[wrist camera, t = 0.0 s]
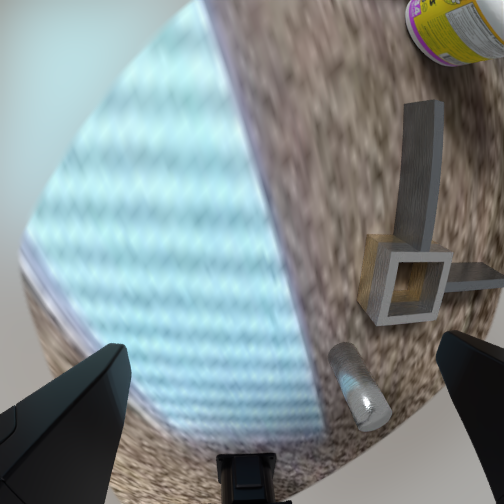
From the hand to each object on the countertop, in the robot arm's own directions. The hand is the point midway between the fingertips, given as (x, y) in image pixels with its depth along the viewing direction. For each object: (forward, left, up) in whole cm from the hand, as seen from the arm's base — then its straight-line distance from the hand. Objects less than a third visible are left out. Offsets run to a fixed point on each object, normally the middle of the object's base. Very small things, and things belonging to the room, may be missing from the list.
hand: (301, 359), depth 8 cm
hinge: (+2, -15, -15) cm, 21 cm away
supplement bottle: (+17, -14, -15) cm, 26 cm away
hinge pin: (-11, -8, -15) cm, 20 cm away
